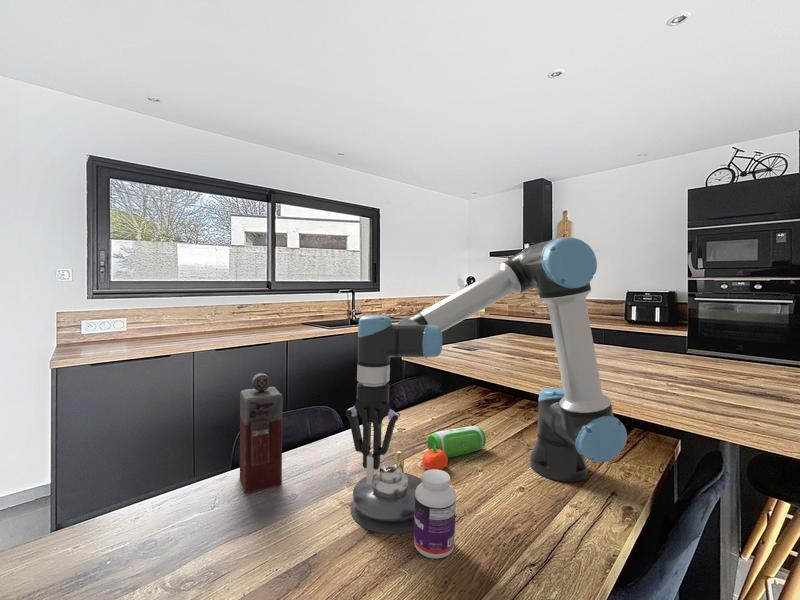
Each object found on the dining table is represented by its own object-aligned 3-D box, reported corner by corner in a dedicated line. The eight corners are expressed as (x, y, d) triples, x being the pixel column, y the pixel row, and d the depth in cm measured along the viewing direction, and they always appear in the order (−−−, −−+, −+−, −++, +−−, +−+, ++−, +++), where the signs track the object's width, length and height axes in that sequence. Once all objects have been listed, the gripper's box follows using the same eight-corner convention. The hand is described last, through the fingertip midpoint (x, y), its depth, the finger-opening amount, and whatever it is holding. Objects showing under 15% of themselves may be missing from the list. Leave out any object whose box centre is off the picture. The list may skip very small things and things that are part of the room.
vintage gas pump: (246, 498, 90) (246, 382, 89) (239, 476, 100) (240, 372, 99) (284, 488, 95) (285, 378, 93) (274, 469, 104) (275, 368, 103)
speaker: (438, 463, 110) (439, 438, 110) (426, 453, 117) (426, 429, 116) (486, 453, 118) (487, 429, 117) (472, 444, 124) (473, 421, 124)
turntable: (437, 485, 94) (438, 453, 94) (425, 530, 77) (426, 492, 76) (367, 474, 99) (368, 444, 98) (340, 515, 81) (341, 479, 81)
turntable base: (438, 491, 95) (438, 485, 95) (425, 541, 76) (425, 534, 76) (366, 480, 99) (366, 475, 99) (337, 525, 81) (337, 518, 81)
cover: (410, 484, 91) (411, 463, 90) (403, 503, 83) (403, 480, 83) (378, 479, 92) (379, 459, 92) (368, 497, 85) (369, 475, 85)
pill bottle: (411, 534, 78) (413, 466, 78) (449, 532, 79) (451, 465, 79) (416, 562, 70) (418, 487, 70) (458, 561, 71) (460, 486, 71)
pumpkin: (419, 475, 104) (417, 452, 104) (427, 462, 111) (425, 441, 111) (444, 477, 101) (442, 453, 101) (451, 464, 109) (449, 442, 109)
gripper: (404, 380, 90) (401, 477, 91) (352, 376, 93) (350, 469, 94) (396, 388, 83) (393, 494, 84) (340, 383, 86) (339, 485, 87)
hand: (371, 481), depth 89 cm, fingers closed
